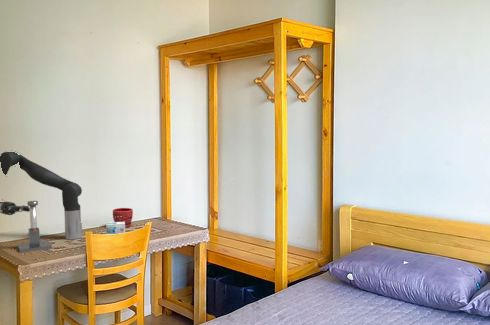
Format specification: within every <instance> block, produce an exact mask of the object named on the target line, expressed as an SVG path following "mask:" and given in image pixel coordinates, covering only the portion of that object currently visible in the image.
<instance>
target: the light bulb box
mask: <svg viewBox="0 0 490 325" xmlns="http://www.w3.org/2000/svg"><path fill="white" fill-rule="evenodd" d="M105 227H106V228H105V231H106V233H105V234H117V233H124V232H125V233H126V228H125V222H114V221H113V222H111V221H110V222H106V226H105Z"/></svg>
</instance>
